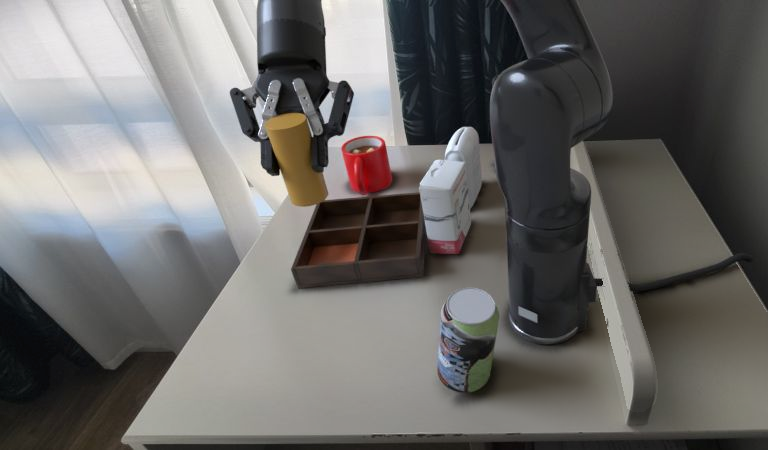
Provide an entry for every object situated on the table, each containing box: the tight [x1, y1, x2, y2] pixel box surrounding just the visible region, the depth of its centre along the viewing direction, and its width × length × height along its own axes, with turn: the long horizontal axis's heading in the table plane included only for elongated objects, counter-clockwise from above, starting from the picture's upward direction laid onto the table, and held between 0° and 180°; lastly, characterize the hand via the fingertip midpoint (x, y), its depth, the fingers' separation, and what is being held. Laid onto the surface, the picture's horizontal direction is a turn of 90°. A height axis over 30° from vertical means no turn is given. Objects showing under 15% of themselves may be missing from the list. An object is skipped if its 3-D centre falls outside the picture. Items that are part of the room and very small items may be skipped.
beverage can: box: [437, 287, 500, 394], centre depth 53 cm, size 6×7×12 cm
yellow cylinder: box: [265, 113, 329, 208], centre depth 57 cm, size 4×4×10 cm
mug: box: [340, 135, 393, 197], centre depth 90 cm, size 8×12×8 cm, turn 5°
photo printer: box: [444, 126, 483, 210], centre depth 84 cm, size 10×4×12 cm, turn 169°
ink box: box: [418, 159, 472, 255], centre depth 75 cm, size 9×5×12 cm, turn 168°
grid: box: [290, 191, 427, 289], centre depth 76 cm, size 18×18×4 cm
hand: (295, 171), depth 56 cm, fingers closed on yellow cylinder, 4 cm apart
